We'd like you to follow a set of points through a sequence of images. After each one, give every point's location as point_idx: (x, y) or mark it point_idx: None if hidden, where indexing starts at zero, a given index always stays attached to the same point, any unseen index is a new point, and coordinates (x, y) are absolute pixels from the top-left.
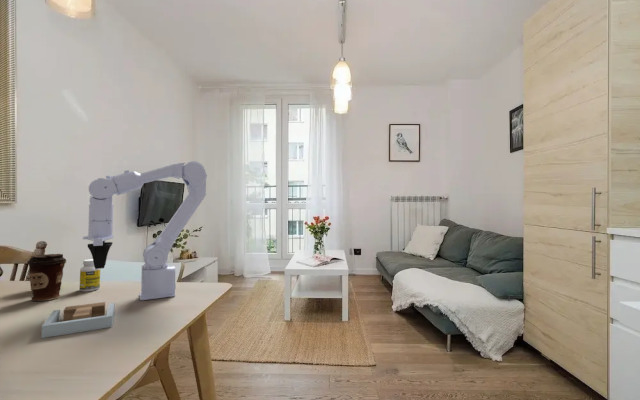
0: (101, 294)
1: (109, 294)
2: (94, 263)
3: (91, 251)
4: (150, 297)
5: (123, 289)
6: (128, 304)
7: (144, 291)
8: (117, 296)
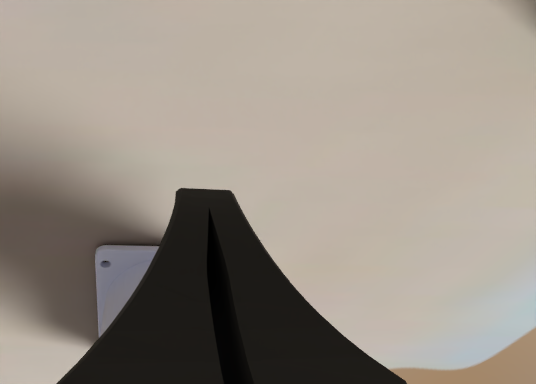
0: (412, 78)
1: (374, 118)
2: (170, 225)
3: (95, 352)
4: (107, 287)
5: (436, 185)
6: (59, 195)
7: (128, 292)
8: (288, 154)
